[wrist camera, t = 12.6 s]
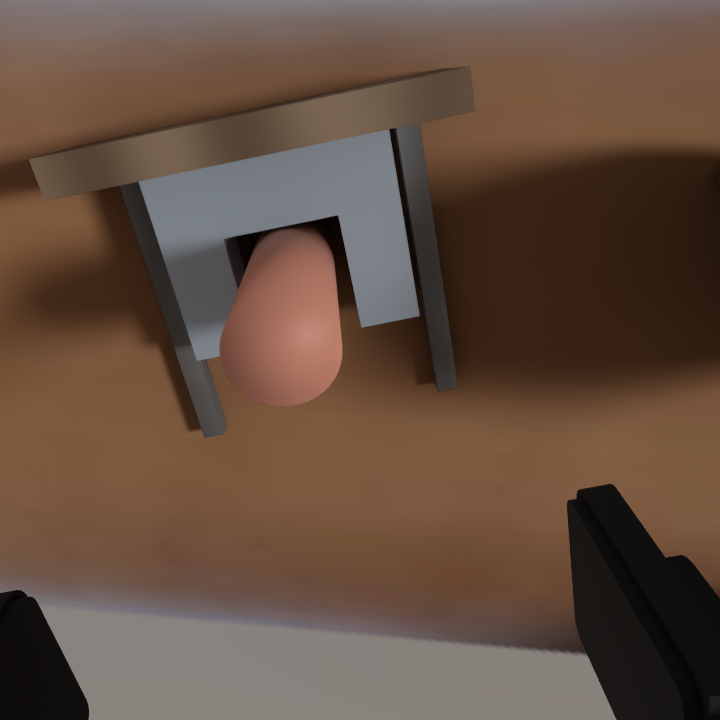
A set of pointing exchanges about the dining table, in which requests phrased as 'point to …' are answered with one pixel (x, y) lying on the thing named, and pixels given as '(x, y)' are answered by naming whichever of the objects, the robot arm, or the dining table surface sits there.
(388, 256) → the block
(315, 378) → the dowel
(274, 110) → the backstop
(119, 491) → the dining table surface
